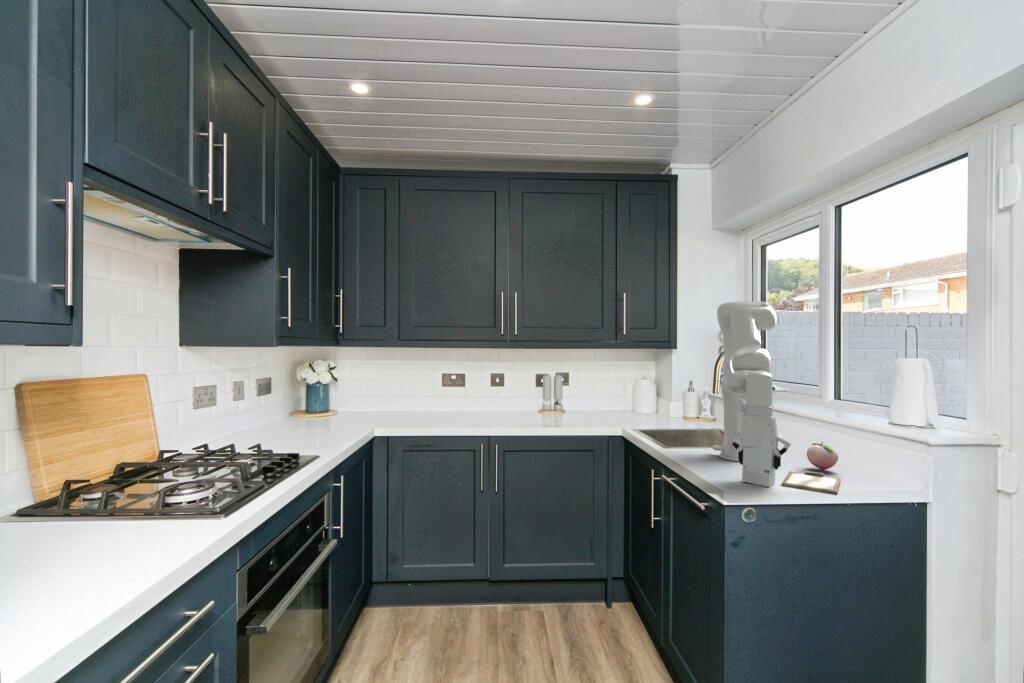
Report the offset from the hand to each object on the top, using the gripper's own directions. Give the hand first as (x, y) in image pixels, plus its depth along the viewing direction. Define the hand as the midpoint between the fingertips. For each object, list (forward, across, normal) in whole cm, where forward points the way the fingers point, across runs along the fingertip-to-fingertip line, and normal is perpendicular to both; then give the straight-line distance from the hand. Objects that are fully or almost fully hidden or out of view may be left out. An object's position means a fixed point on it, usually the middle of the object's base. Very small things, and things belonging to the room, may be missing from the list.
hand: (759, 466), depth 146 cm
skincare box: (+6, 0, 0) cm, 6 cm away
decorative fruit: (+5, +14, +30) cm, 34 cm away
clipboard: (+5, +13, +10) cm, 17 cm away
